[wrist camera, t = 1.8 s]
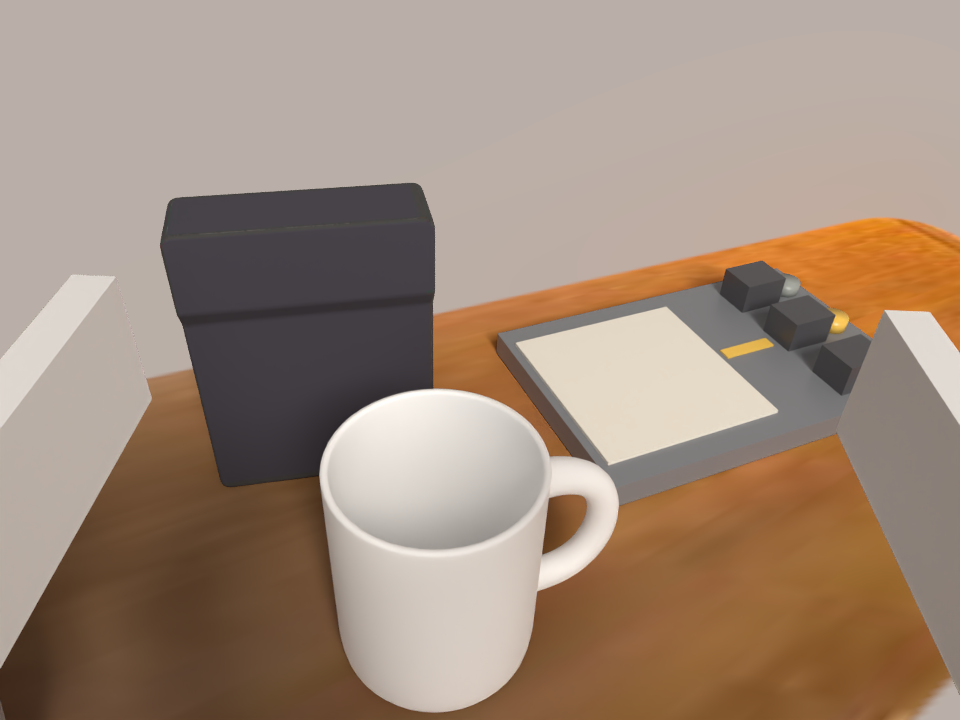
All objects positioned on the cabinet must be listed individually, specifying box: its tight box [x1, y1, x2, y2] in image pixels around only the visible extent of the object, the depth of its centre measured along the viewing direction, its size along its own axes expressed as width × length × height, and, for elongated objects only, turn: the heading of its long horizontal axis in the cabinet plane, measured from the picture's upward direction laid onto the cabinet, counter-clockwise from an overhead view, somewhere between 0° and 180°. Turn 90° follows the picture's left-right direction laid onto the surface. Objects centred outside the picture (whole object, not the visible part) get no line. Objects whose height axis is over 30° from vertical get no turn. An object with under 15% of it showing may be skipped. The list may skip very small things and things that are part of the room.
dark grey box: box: [160, 183, 435, 487], centre depth 38 cm, size 11×4×15 cm, turn 102°
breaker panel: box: [497, 261, 872, 506], centre depth 48 cm, size 22×14×4 cm, turn 114°
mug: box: [319, 389, 619, 713], centre depth 32 cm, size 12×8×10 cm
